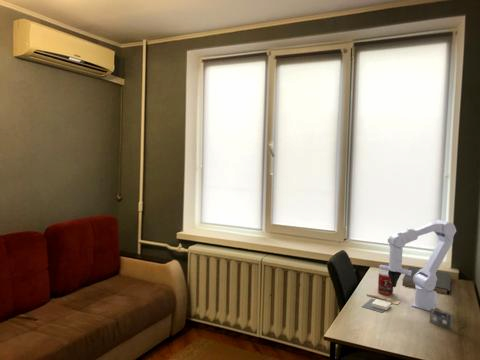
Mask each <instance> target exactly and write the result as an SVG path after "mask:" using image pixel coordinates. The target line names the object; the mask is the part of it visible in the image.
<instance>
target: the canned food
mask: <svg viewBox="0 0 480 360" xmlns="http://www.w3.org/2000/svg"><path fill="white" fill-rule="evenodd" d="M388 272H389V271H387V270H380V271H378V279H377V280H378V281H377V292H378V293H379V294H380V295H383V296H391V295H393V292H394V287H392V283H391V279H390V277H389V275H388Z"/></svg>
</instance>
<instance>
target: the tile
mask: <svg viewBox="0 0 480 360" xmlns="http://www.w3.org/2000/svg"><path fill="white" fill-rule="evenodd" d="M375 299H376V300H375V301H374V302H373V303H372V307H376V308H379V309H383V310H385V311H387V310H388V309H389V308H390V307H391V306H392V304H391V303H390V302H386V301H385V300H381V299H378V298H375Z"/></svg>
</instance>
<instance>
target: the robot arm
mask: <svg viewBox="0 0 480 360" xmlns="http://www.w3.org/2000/svg"><path fill="white" fill-rule="evenodd" d="M433 232H434V233H435V234H436V236H437V238H438V242H437V244H436V245H435V248H434V249H433V250H432V253H431V255H430V256H429V258H428V260H427V261H426V264H425V265H424V267H422V269H420V270H419V271H418V273H416V274H415V275H414V277H413V282H414V283H415V286H416V288H415V293H414V302H413V303H412V305H411V306H412V307H415V308H418V309H421V310H425V311H429V312H430V310H431V309H434V310H436V308H437V301H438V300H437V299H438V297H437V296H438V292H435V291H433V289H434V288H435V286H436V281H437V277H436V272H437V271H438V270H439V268H440V267H441V264H442V263H443V260H444V259H445V257H446V255H447V254H448V253H449V250H450V248H451V247H452V245H453V243H454V236H455V234H457V228H456V226H455V224H454V223H453V222H448V221H445V220H441V219H438V218H437V219H434V220H432V221H430V222H429V223H426V224H424V225H422V226H420V227H417V228H416V229H415V228H410V227H409V228H407V229H406V230H403V231H399V232H398V233H392V234H391V235H390V236H389V237H388V239H387V243H388V244H389V258H388V259H389V261H388V265H384V264H380V265H378V269H379V270H380V271H389V272H388V275H389V277H390V279H391V283H392V287H393V288H396V287H397V284H398V281H399V279H400V276H401V275H402V274H403V275H405V274H407V275H411V271H410V270H408V269H406V268H403V267H402V263H403V251H404V250H403V248H404V247H405V246H406V244H409V243H411V242H414V241H417V240H418V238H419V236H423V235H426V234H429V233H433ZM427 276H428V277H427Z"/></svg>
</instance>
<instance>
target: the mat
mask: <svg viewBox="0 0 480 360" xmlns="http://www.w3.org/2000/svg"><path fill="white" fill-rule="evenodd" d="M376 299H377V298H371V299H369V300H368V301H367V302H365V303H364V304H362V305H361V308H364V309H368V310H371V311H374V312H378V313H381V314H383V313H384V312H385V311H386V310H383V309H379V308H376V307H372V303H373V302H374V301H375V300H376Z"/></svg>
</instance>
